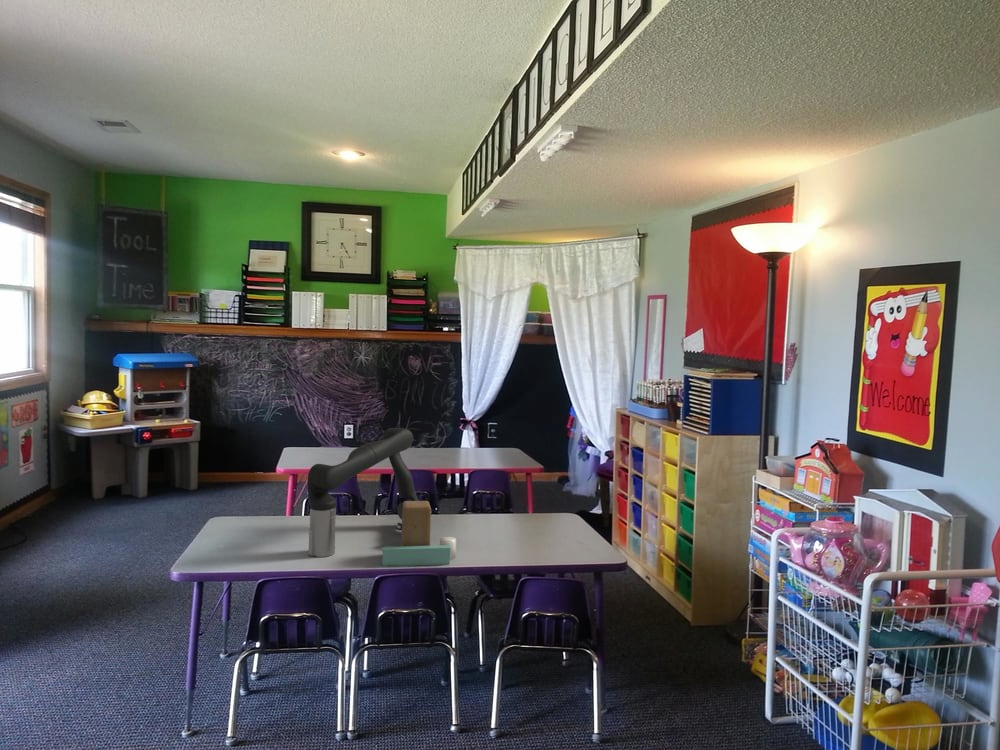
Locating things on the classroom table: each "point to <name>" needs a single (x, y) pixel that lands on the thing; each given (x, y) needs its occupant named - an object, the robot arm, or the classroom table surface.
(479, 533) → the classroom table surface
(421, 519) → the wooden block
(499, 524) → the classroom table surface
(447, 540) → the cream rounded cylinder
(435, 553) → the teal block
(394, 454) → the robot arm
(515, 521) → the classroom table surface
